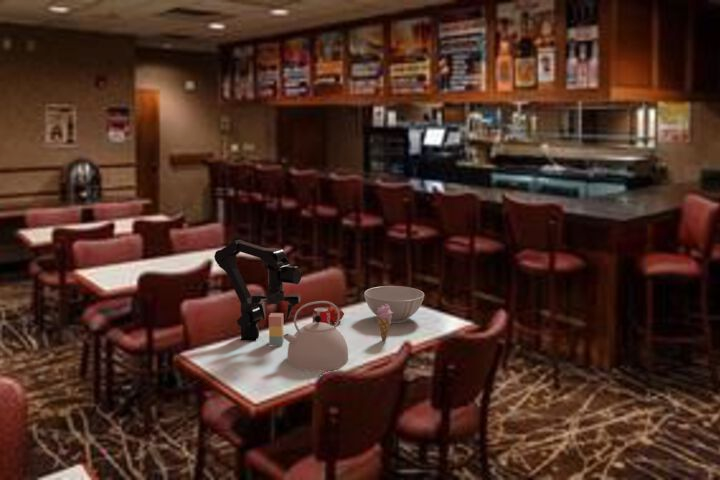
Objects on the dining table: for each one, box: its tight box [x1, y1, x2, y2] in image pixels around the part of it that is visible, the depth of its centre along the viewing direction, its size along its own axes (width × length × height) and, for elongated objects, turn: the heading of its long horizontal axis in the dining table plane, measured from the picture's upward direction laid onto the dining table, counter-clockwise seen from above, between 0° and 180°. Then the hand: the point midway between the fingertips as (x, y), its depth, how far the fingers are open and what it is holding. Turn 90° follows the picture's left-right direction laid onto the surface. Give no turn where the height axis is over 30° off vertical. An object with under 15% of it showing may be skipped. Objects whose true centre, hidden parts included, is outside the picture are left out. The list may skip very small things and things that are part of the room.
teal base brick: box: [268, 333, 285, 347], centre depth 270 cm, size 5×5×4 cm
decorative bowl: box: [363, 285, 425, 324], centre depth 304 cm, size 27×27×12 cm
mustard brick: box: [268, 324, 285, 337], centre depth 269 cm, size 5×5×4 cm
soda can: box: [312, 307, 331, 325], centre depth 277 cm, size 7×7×12 cm
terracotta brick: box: [268, 312, 285, 327], centre depth 268 cm, size 5×5×4 cm
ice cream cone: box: [375, 304, 393, 342], centre depth 274 cm, size 7×6×15 cm
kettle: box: [283, 300, 349, 372], centre depth 250 cm, size 25×23×22 cm
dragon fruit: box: [324, 305, 345, 325], centre depth 298 cm, size 8×8×12 cm
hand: (276, 319), depth 268 cm, fingers open, 9 cm apart
